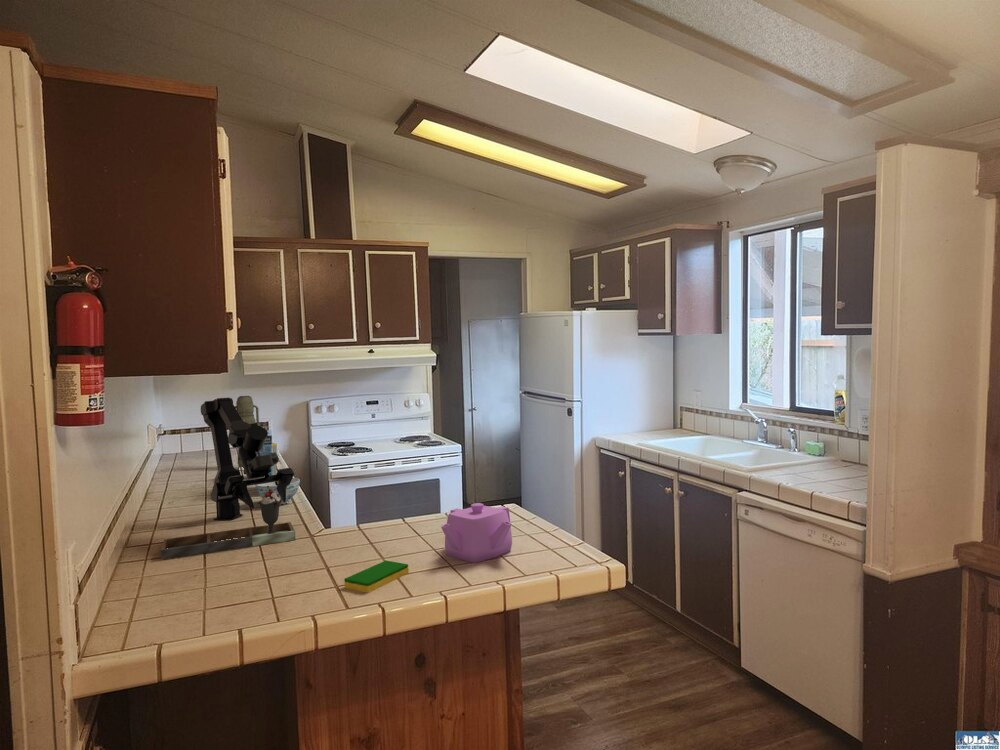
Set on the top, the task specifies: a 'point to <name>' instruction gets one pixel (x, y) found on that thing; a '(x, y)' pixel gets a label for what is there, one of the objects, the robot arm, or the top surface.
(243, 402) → the thermos
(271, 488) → the chinaware
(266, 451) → the blue flat box
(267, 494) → the sundae
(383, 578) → the dish sponge
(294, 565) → the top surface
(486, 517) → the teakettle
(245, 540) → the tray
